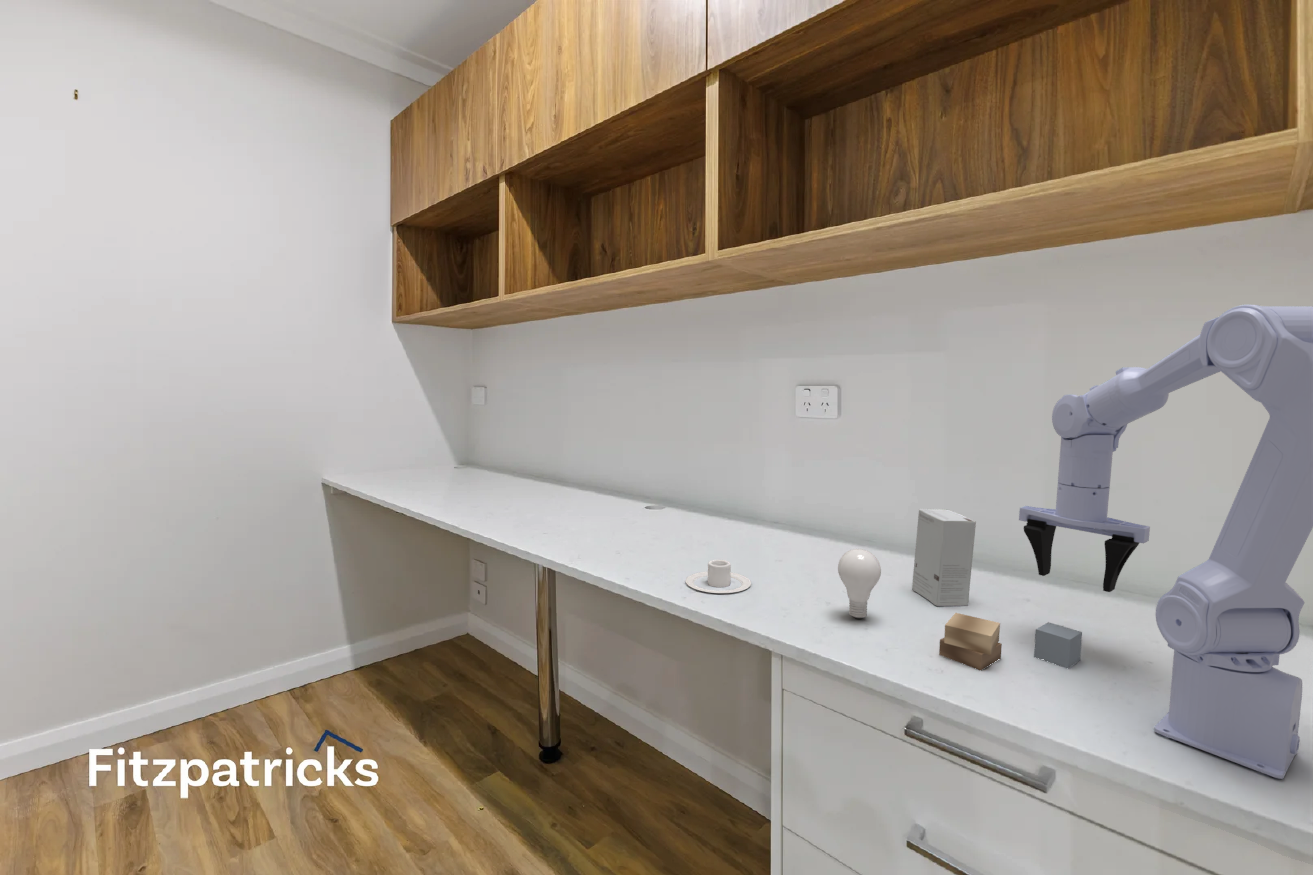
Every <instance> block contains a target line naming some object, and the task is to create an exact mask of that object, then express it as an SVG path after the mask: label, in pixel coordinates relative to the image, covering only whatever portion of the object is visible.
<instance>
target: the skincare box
mask: <svg viewBox="0 0 1313 875" xmlns="http://www.w3.org/2000/svg"><path fill="white" fill-rule="evenodd" d="M976 523H977V521H975V520H974V519H971V518H969V517H967V516H965V515H963V514H962V513H958V512H955V511H954V510H953V511H952V510H950V509H945V508H944V509H943V508H940V509H939V508H932V509H931V508H930V509H929V508H919V509H918V517H917V527H916V528H917V530H916V540H915V549H914V550H915V551H914V563H913V570H912V571H913V574H912V583H911V586H912V587H911V589H912V590H913V591H914V592H915V593H917V594H919V595H920V596H921V597H923V598H924V599H926V600H928V601H929V602H930V603H932V604H933V605H935V606H937V607H963V606H967V607H968V606H969V599H970V589H971V588H970V587H971V579H972V578H971V576H972V567H973V557H974V546H975V536H976V526H977V525H976Z"/></svg>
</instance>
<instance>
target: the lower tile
mask: <svg viewBox="0 0 1313 875" xmlns="http://www.w3.org/2000/svg"><path fill="white" fill-rule="evenodd" d="M1002 646H1003V644H1002V643H1001V642H998V643H997V645H996V647H995V648H994V650H993V652H992V653H991V655H988V654H984V653H981V652H977V651H973V650H969V649H965V648H962V647H958V646H954V645H950V644H947V643H944V637H942V638H940V639H939V652H938V653H939V654H938V655H939V656H941V657H943V658H946V659H949V660H951V659H952V660H951V661H954V662H956V663H960V664H962V663H963V664H962V665H964V664H965V666H967V667H971V668H972V669H975V668H976V669H975V670H977V669H978V670H977V671H980V670H981V671H982V669H983V670H984V668H985V669H986V668H988V667H990V666H991V665H993V664H995V663H996V662H995V661H997V660H998V659H1000V660H1002ZM998 661H999V660H998ZM998 661H997V662H998ZM994 662H995V663H994ZM992 663H993V664H992ZM990 664H991V665H990ZM989 665H990V666H989ZM987 666H988V667H987Z"/></svg>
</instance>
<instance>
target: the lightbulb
mask: <svg viewBox="0 0 1313 875" xmlns="http://www.w3.org/2000/svg"><path fill="white" fill-rule="evenodd" d="M837 573H838V576H839V578H840V580H841V582H842V583H843V586H844V587H845V589H846V593H847V597H848V601H849V602H848V603H849V604H848V609H849V610H848V611H849V612H848V615H850V616H851V617H853V618H854V619H856V620H860V619H861V620H862V619H863V618H866V617H867V616H868V601H869V599H870V596H871V592H872V590H873V589H874V588H875V587H876V585H877V584H878V582H879V581H880V579H881V575H882V566H881V564H880V562H879V560H878V558H877V557H876V556H875V555H874V554H873V553H872V552H870V551H868V550H866V549H862V548H853V549H850V550H848V551H846V552H845V553H843V554H842V555H841V557H840V559H839V561H838V564H837Z"/></svg>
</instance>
